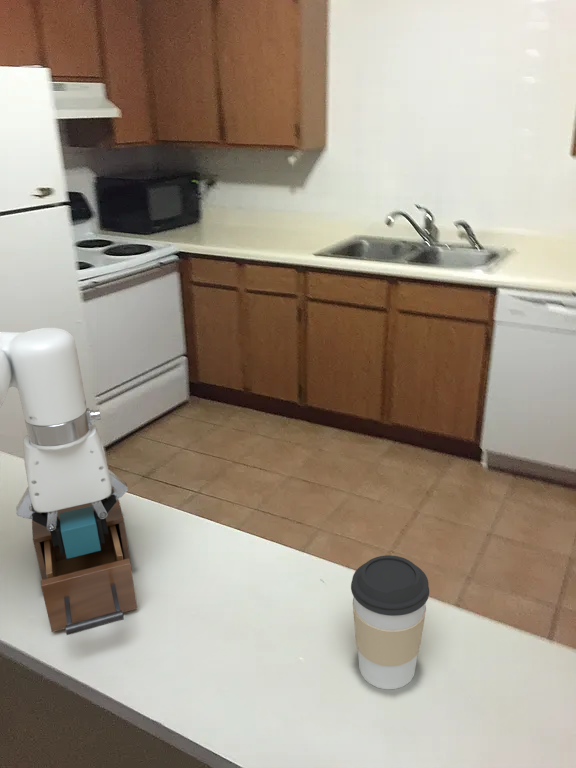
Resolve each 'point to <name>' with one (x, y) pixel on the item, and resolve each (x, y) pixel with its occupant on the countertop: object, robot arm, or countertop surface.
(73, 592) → the drawer
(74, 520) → the block
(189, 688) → the countertop surface
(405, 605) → the coffee cup
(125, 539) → the cabinet
